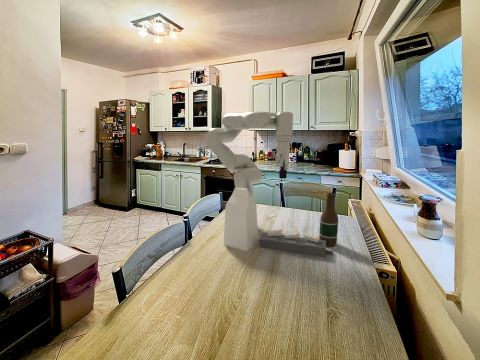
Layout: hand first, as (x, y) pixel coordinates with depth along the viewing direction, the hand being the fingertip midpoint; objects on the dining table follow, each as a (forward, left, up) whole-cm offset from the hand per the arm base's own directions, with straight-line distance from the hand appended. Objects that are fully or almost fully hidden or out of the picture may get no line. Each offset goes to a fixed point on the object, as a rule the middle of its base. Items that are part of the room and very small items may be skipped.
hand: (282, 178), depth 120 cm
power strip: (+9, -13, -29) cm, 33 cm away
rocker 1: (-1, -12, -24) cm, 27 cm away
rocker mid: (+7, -12, -24) cm, 27 cm away
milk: (-16, -15, -29) cm, 37 cm away
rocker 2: (+15, -12, -24) cm, 30 cm away
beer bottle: (+22, -3, -29) cm, 37 cm away
